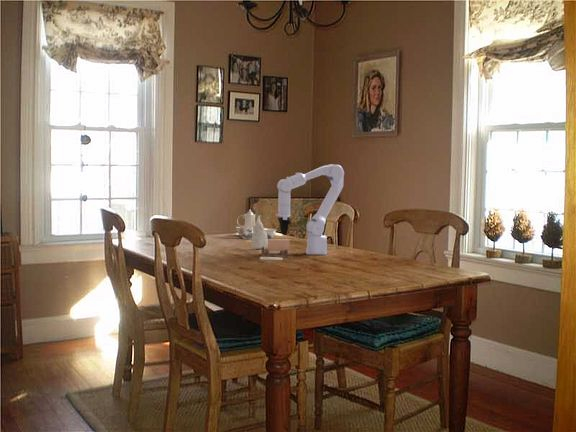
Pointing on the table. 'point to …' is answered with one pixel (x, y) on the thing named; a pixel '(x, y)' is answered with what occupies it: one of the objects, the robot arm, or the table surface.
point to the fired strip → (271, 258)
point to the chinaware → (251, 227)
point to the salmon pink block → (278, 244)
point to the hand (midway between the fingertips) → (283, 233)
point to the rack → (266, 253)
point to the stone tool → (259, 236)
